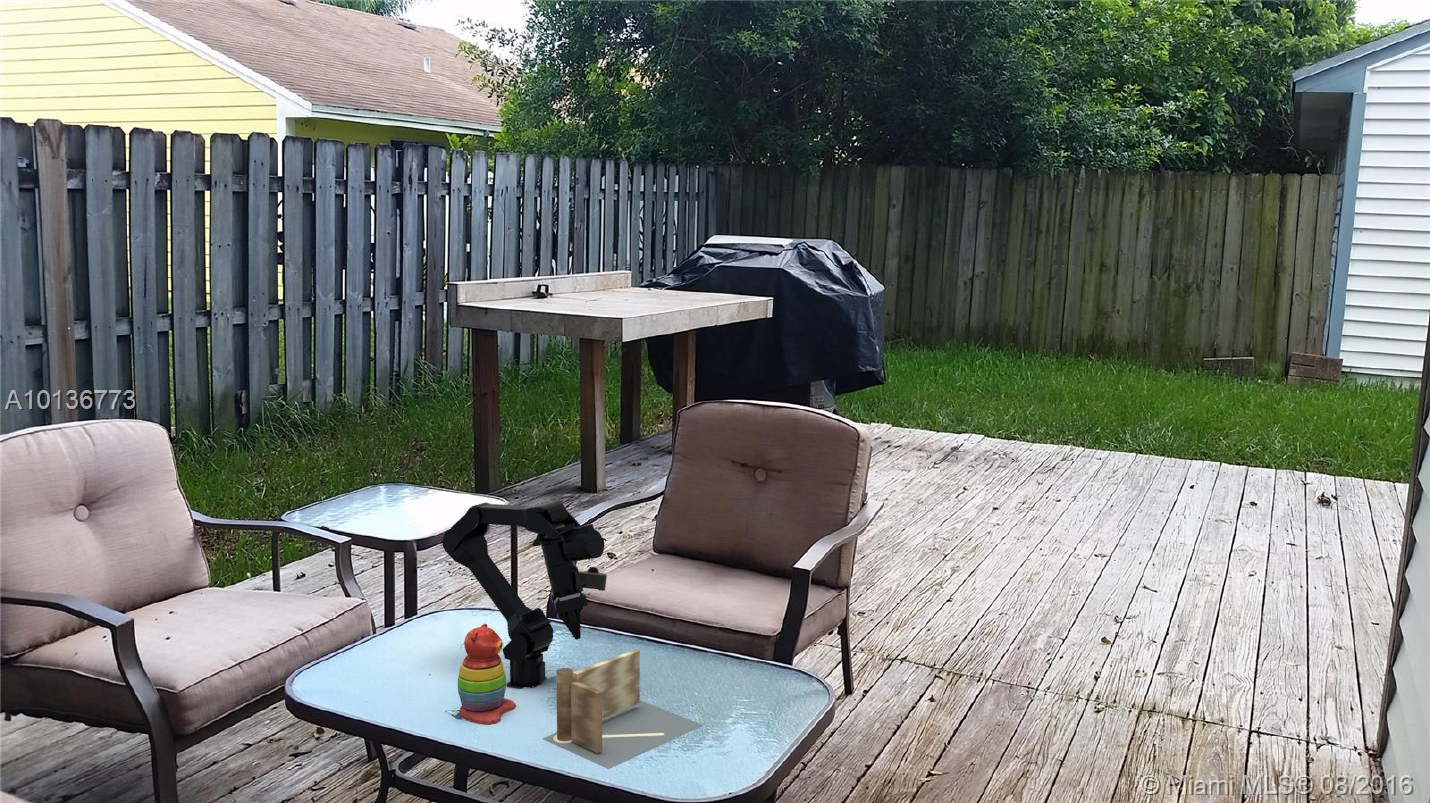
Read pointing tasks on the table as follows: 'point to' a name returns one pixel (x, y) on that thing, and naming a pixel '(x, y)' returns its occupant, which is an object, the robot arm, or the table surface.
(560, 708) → the fixed fence panel
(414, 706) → the table surface
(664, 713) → the board
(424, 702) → the table surface
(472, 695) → the stacking bear
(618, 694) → the folding fence panel
